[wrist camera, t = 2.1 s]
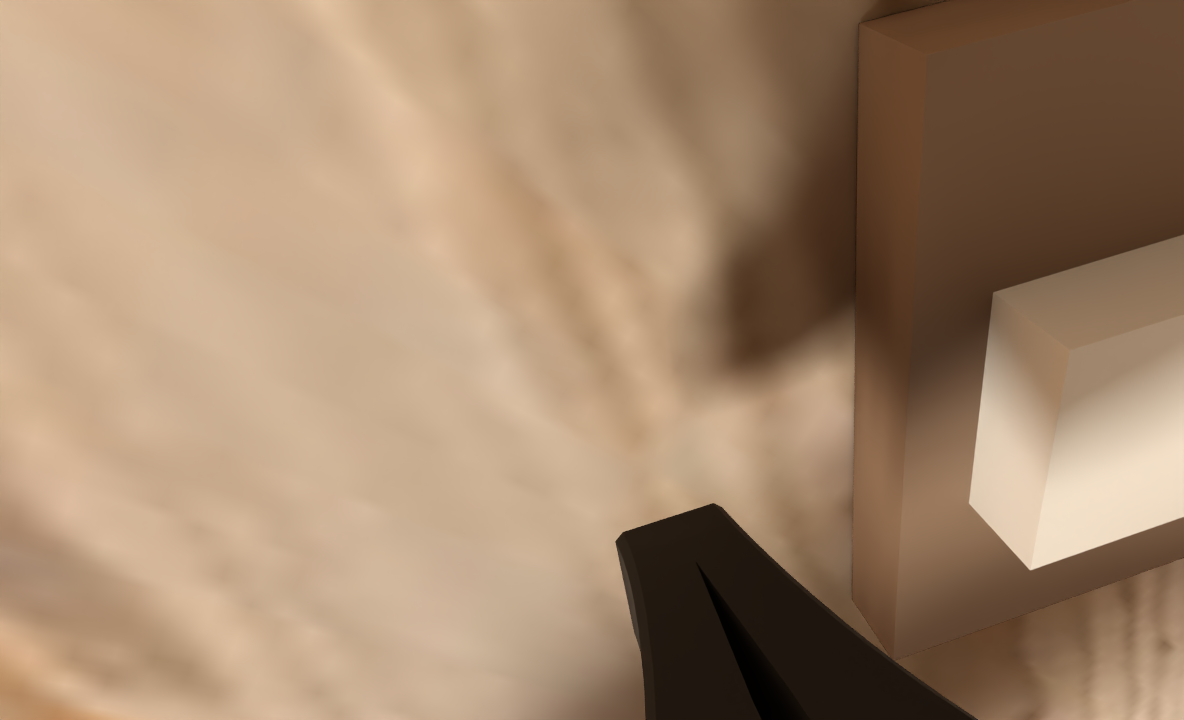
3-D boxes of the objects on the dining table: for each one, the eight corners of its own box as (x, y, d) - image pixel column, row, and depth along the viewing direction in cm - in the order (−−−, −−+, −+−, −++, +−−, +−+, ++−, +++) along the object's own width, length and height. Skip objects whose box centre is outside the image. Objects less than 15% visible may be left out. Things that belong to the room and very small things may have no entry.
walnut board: (1291, 447, 19) (1360, 495, 18) (851, 599, 18) (893, 660, 16) (1520, -146, 13) (1650, -135, 11) (859, 23, 11) (927, 54, 10)
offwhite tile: (1185, 430, 15) (1263, 489, 14) (969, 503, 15) (1029, 569, 13) (1247, 215, 13) (1348, 262, 12) (993, 292, 12) (1069, 350, 11)
